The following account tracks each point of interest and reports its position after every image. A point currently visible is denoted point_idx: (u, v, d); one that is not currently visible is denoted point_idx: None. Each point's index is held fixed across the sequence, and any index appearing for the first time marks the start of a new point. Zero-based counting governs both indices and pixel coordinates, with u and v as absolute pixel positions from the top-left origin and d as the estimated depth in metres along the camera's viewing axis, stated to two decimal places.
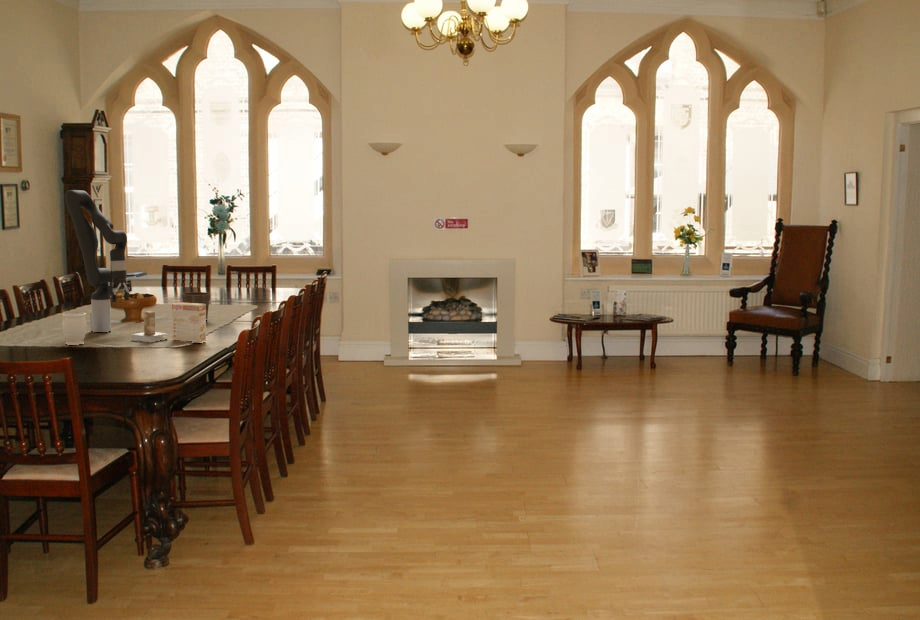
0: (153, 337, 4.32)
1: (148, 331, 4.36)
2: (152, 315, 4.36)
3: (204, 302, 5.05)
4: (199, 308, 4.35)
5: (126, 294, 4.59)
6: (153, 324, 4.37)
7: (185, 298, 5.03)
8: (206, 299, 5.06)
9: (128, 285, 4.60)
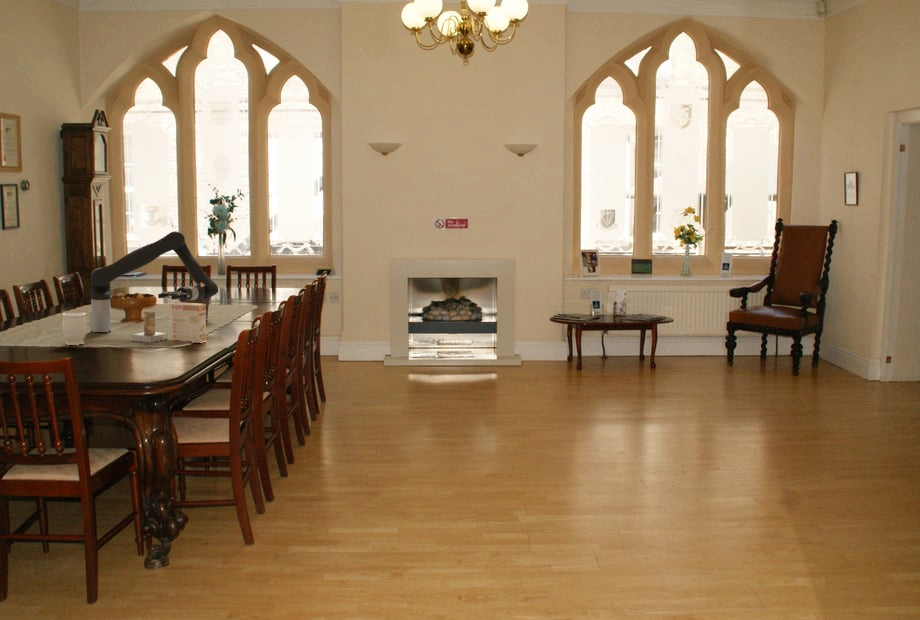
0: (153, 337, 4.32)
1: (148, 331, 4.36)
2: (152, 315, 4.36)
3: (204, 302, 5.05)
4: (199, 308, 4.35)
5: (163, 296, 4.50)
6: (153, 324, 4.37)
7: None
8: (206, 299, 5.06)
9: (167, 295, 4.55)
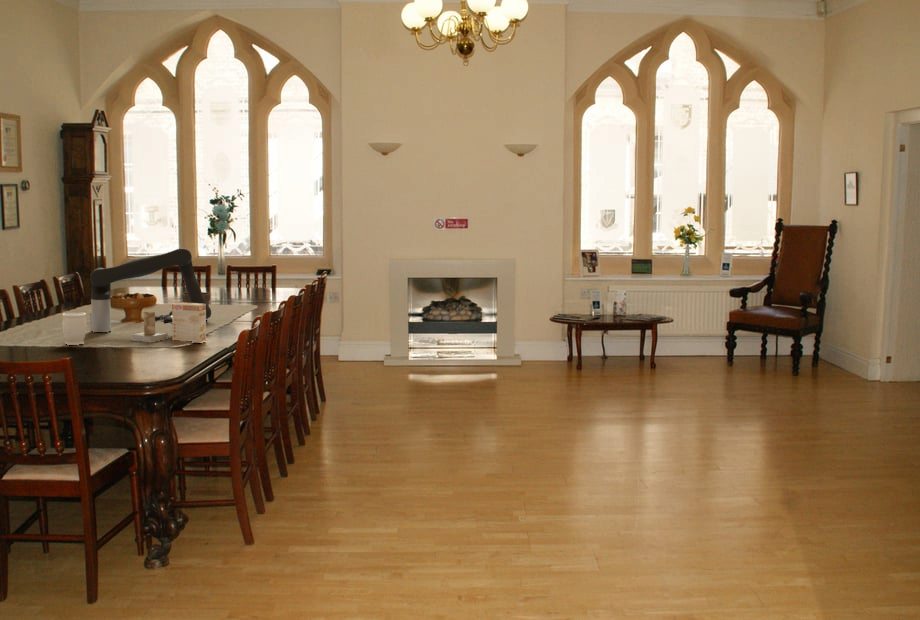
0: (153, 337, 4.32)
1: (148, 331, 4.36)
2: (152, 315, 4.36)
3: None
4: (199, 308, 4.35)
5: (155, 320, 4.47)
6: (153, 324, 4.37)
7: (185, 298, 5.03)
8: (206, 299, 5.06)
9: (159, 318, 4.52)
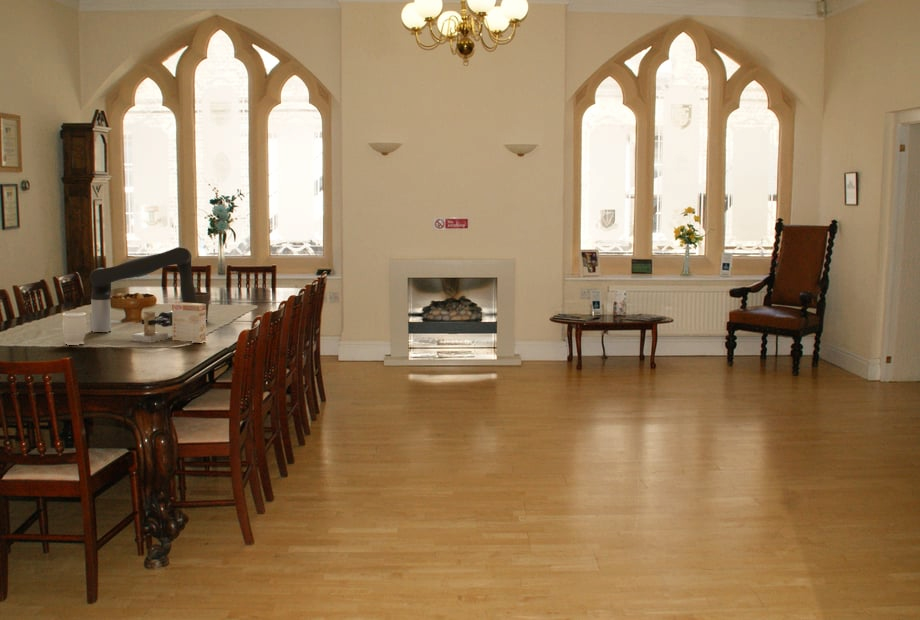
0: (153, 337, 4.32)
1: (148, 331, 4.36)
2: (152, 315, 4.36)
3: (204, 302, 5.05)
4: (199, 308, 4.35)
5: None
6: None
7: None
8: (206, 299, 5.06)
9: None
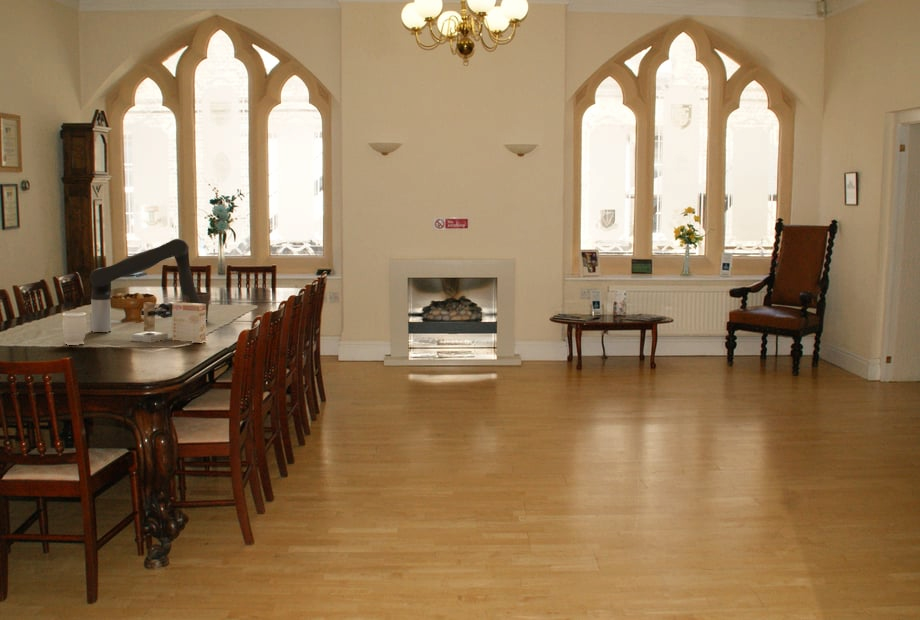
0: (153, 337, 4.32)
1: (148, 322, 4.35)
2: (152, 306, 4.36)
3: (204, 302, 5.05)
4: (199, 308, 4.35)
5: None
6: (153, 315, 4.37)
7: (185, 298, 5.03)
8: (206, 299, 5.06)
9: None
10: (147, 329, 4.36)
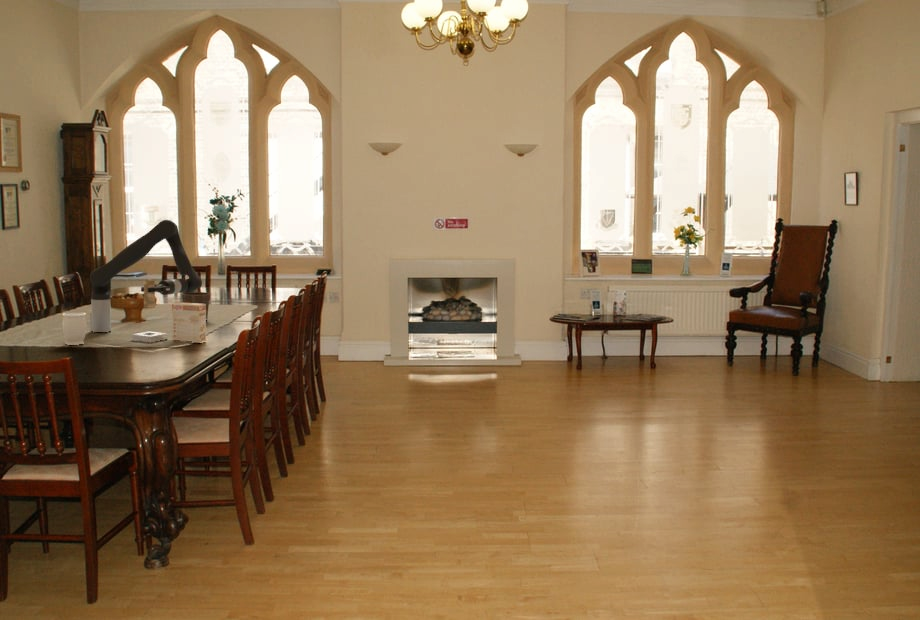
0: (153, 337, 4.32)
1: (148, 298, 4.34)
2: (152, 282, 4.35)
3: (204, 302, 5.05)
4: (199, 308, 4.35)
5: None
6: (153, 292, 4.36)
7: (185, 298, 5.03)
8: (206, 299, 5.06)
9: None
10: (147, 306, 4.35)
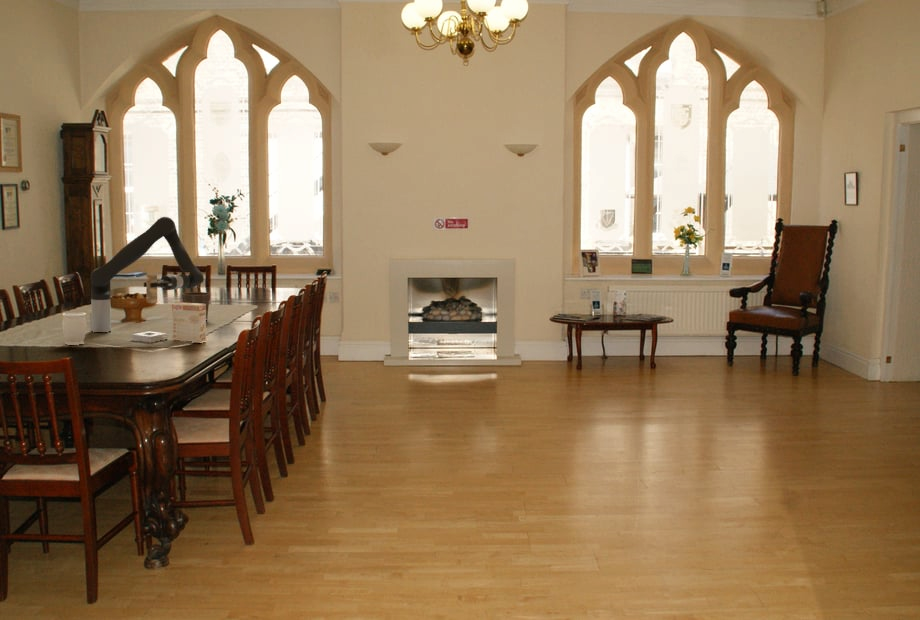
0: (153, 337, 4.32)
1: (150, 293, 4.39)
2: (154, 278, 4.40)
3: (204, 302, 5.05)
4: (199, 308, 4.35)
5: None
6: (155, 287, 4.41)
7: (185, 298, 5.03)
8: (206, 299, 5.06)
9: None
10: (150, 301, 4.40)
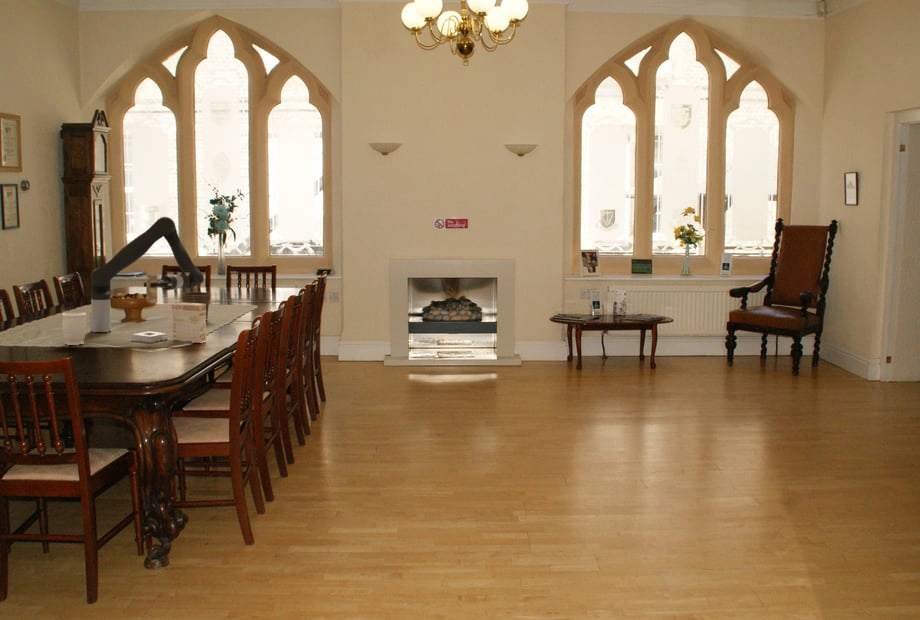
0: (153, 337, 4.32)
1: (150, 293, 4.39)
2: (154, 278, 4.40)
3: (204, 302, 5.05)
4: (199, 308, 4.35)
5: None
6: (155, 287, 4.41)
7: (185, 298, 5.03)
8: (206, 299, 5.06)
9: None
10: (150, 301, 4.40)
